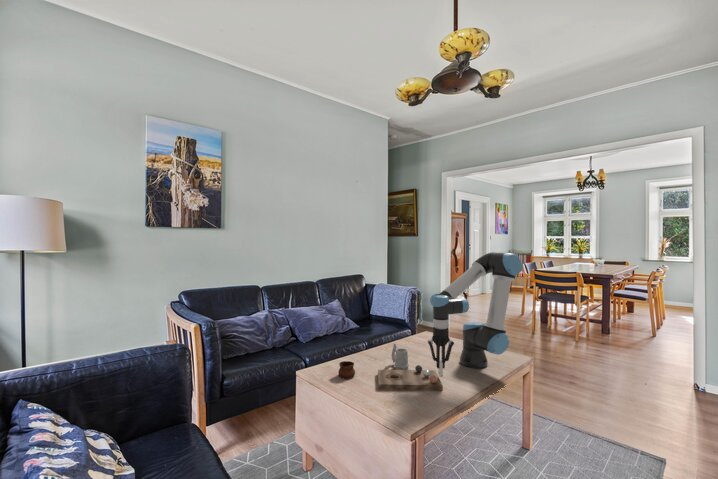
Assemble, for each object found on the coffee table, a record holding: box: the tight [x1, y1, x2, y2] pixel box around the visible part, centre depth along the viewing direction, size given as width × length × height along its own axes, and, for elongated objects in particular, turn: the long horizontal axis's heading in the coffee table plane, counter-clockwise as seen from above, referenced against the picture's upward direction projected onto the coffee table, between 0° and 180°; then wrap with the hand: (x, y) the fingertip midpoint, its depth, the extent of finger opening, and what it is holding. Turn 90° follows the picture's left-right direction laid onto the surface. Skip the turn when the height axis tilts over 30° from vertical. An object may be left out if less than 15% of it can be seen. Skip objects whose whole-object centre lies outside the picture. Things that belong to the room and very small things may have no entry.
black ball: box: [414, 364, 423, 372], centre depth 177 cm, size 4×4×4 cm
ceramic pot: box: [337, 360, 356, 380], centre depth 178 cm, size 18×18×7 cm
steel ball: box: [423, 369, 430, 378], centre depth 170 cm, size 4×4×4 cm
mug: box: [391, 343, 409, 370], centre depth 191 cm, size 8×12×12 cm, turn 36°
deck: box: [377, 369, 444, 392], centre depth 171 cm, size 30×18×2 cm, turn 88°
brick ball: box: [429, 375, 437, 383], centre depth 164 cm, size 4×4×4 cm
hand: (440, 374), depth 170 cm, fingers closed
